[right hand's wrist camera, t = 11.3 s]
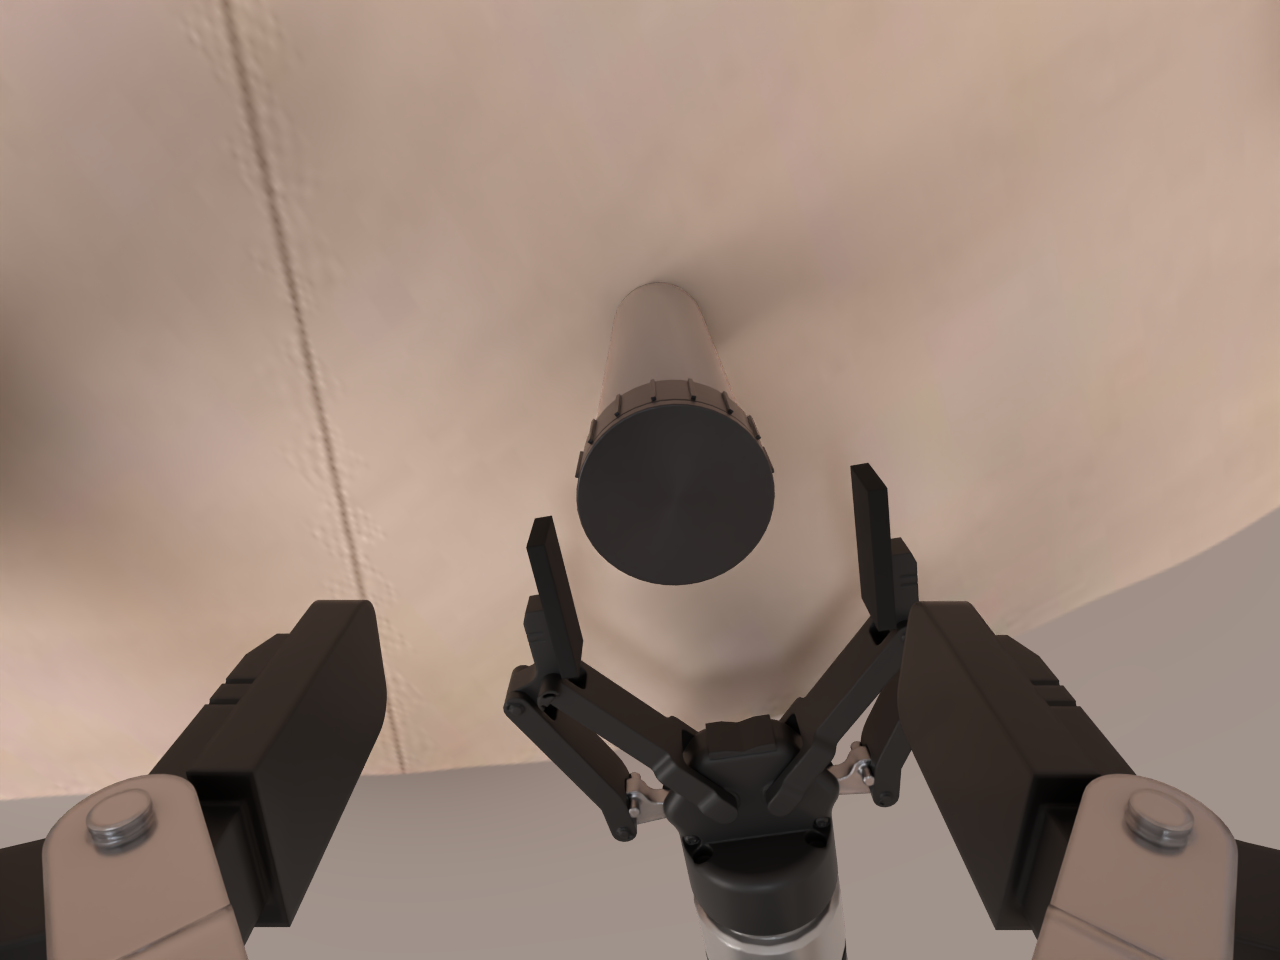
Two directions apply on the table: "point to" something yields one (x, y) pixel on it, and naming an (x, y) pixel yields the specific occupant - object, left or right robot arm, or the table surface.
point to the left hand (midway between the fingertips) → (701, 502)
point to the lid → (674, 483)
